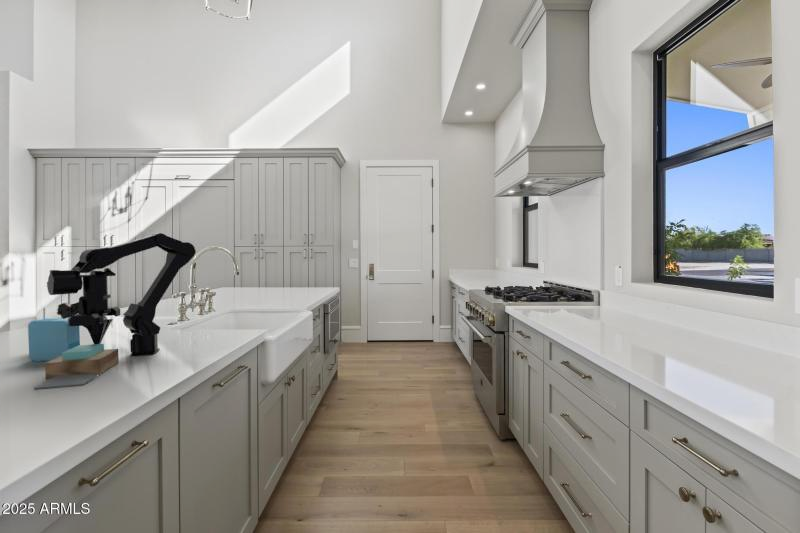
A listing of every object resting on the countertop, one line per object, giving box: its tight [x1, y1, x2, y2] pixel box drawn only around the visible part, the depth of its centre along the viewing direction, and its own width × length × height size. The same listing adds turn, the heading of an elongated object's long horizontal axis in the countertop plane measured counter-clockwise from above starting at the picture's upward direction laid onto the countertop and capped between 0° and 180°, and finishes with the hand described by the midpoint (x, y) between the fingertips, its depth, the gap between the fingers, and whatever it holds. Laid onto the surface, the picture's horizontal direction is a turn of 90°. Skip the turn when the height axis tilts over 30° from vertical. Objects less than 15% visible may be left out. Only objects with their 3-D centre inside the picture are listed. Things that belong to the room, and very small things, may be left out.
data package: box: [27, 318, 81, 362], centre depth 120 cm, size 12×4×12 cm, turn 89°
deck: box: [44, 348, 120, 379], centre depth 109 cm, size 12×12×4 cm
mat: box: [33, 373, 101, 390], centre depth 100 cm, size 10×10×1 cm
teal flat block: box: [62, 343, 105, 361], centre depth 109 cm, size 6×9×2 cm, turn 16°
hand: (97, 345), depth 117 cm, fingers closed
